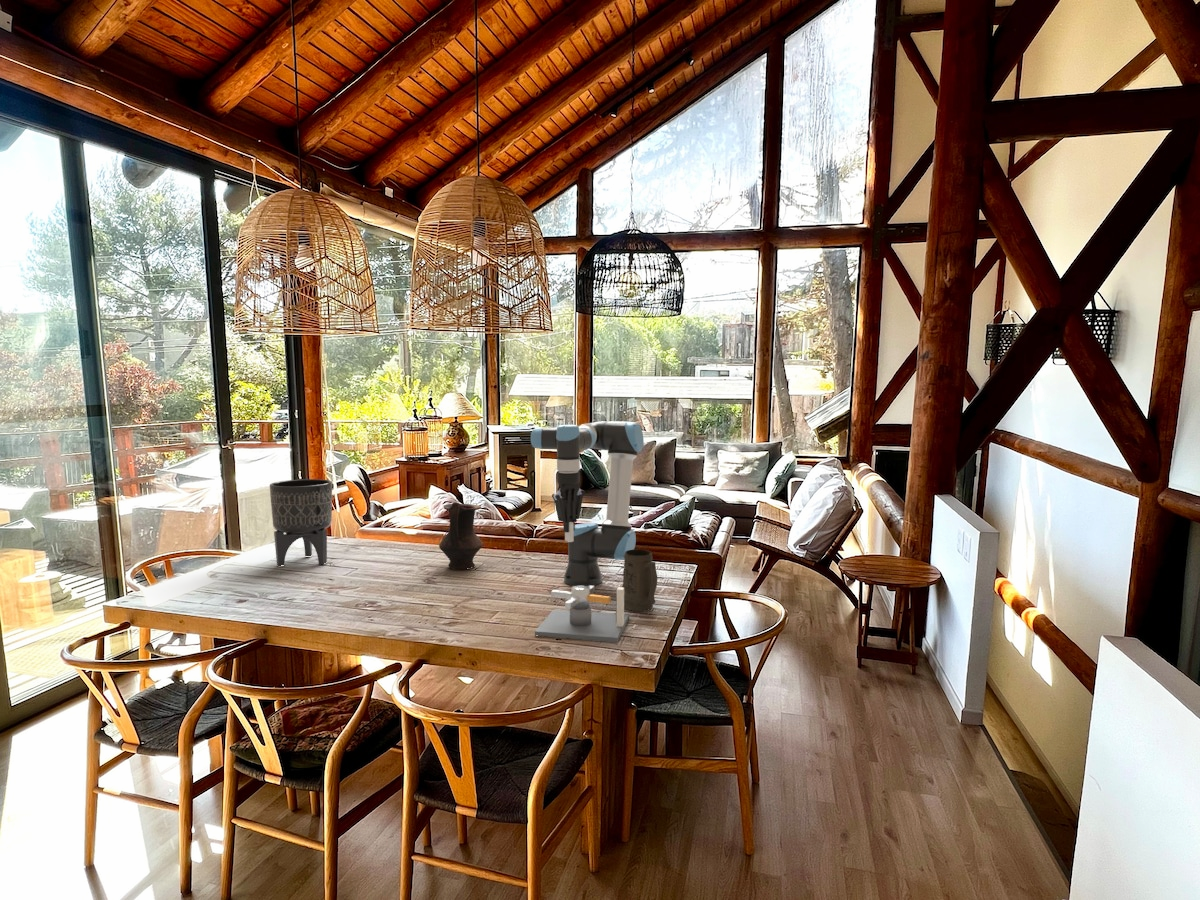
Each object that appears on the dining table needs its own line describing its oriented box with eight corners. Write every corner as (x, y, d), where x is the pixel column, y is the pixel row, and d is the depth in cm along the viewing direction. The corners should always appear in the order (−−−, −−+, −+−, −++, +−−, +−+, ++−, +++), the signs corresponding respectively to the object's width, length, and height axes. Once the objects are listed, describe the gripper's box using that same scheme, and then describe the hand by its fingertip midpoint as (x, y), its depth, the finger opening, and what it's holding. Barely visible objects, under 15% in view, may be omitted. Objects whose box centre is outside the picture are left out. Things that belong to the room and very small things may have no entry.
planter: (283, 573, 282) (280, 488, 279) (264, 561, 301) (261, 482, 298) (343, 563, 299) (341, 483, 296) (322, 552, 318) (319, 477, 314)
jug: (445, 561, 302) (444, 494, 300) (487, 562, 302) (486, 495, 299) (432, 574, 281) (430, 502, 279) (476, 574, 281) (475, 503, 278)
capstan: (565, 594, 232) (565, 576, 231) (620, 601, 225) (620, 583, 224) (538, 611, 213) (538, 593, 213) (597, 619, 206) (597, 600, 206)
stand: (553, 613, 233) (553, 574, 232) (628, 618, 228) (629, 579, 226) (534, 636, 211) (534, 593, 210) (617, 642, 206) (617, 599, 205)
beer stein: (614, 605, 241) (617, 551, 238) (635, 599, 248) (638, 546, 246) (647, 619, 230) (650, 562, 227) (667, 611, 238) (671, 556, 235)
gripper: (575, 468, 232) (576, 535, 235) (545, 472, 223) (547, 542, 226) (590, 470, 227) (591, 539, 230) (561, 474, 218) (562, 546, 221)
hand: (569, 541), depth 228 cm, fingers closed
